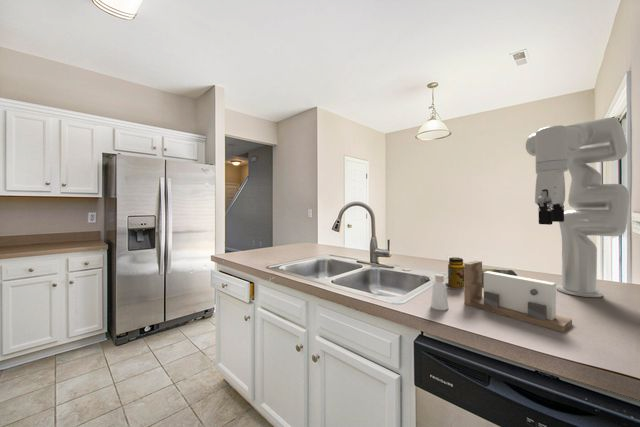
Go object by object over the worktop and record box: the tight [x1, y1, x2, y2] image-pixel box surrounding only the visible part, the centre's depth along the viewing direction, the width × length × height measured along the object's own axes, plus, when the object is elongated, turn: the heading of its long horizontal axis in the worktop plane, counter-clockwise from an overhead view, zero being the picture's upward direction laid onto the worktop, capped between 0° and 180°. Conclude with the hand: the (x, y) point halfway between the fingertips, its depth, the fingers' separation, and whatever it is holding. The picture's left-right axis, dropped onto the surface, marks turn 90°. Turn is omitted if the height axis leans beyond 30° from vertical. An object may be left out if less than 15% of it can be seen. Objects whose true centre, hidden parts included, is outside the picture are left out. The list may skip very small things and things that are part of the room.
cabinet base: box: [463, 260, 573, 333], centre depth 84 cm, size 8×26×14 cm, turn 34°
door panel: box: [483, 271, 557, 320], centre depth 83 cm, size 4×18×10 cm, turn 34°
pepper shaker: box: [430, 273, 449, 311], centre depth 90 cm, size 5×5×11 cm
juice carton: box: [482, 267, 518, 286], centre depth 117 cm, size 20×10×6 cm, turn 64°
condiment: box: [444, 256, 464, 290], centre depth 112 cm, size 7×8×12 cm
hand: (551, 222), depth 84 cm, fingers open, 9 cm apart
